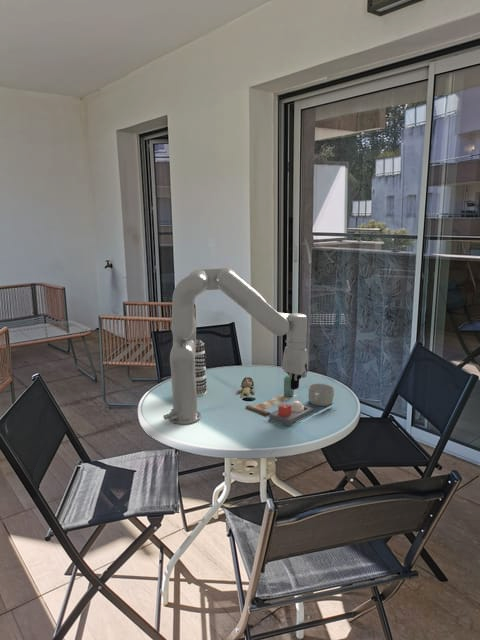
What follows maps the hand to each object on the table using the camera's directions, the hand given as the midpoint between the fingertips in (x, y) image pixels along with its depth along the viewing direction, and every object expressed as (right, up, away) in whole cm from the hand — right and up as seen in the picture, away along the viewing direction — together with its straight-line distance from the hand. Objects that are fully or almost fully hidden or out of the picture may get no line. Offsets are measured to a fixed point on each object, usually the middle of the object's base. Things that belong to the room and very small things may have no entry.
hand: (294, 388), depth 193 cm
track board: (-7, -9, +14) cm, 18 cm away
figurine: (-19, -7, +26) cm, 33 cm away
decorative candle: (-42, -6, +28) cm, 51 cm away
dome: (+1, -11, +2) cm, 11 cm away
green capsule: (0, -6, +20) cm, 21 cm away
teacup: (+12, -9, +11) cm, 19 cm away
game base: (-1, -11, 0) cm, 12 cm away
